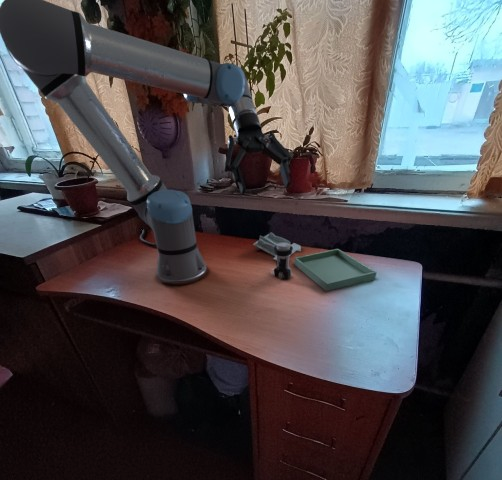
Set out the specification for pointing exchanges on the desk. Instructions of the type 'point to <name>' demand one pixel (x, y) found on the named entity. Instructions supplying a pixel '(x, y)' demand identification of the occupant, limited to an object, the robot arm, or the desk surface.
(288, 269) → the push button
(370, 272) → the tray
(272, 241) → the metal bracket
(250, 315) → the desk surface
